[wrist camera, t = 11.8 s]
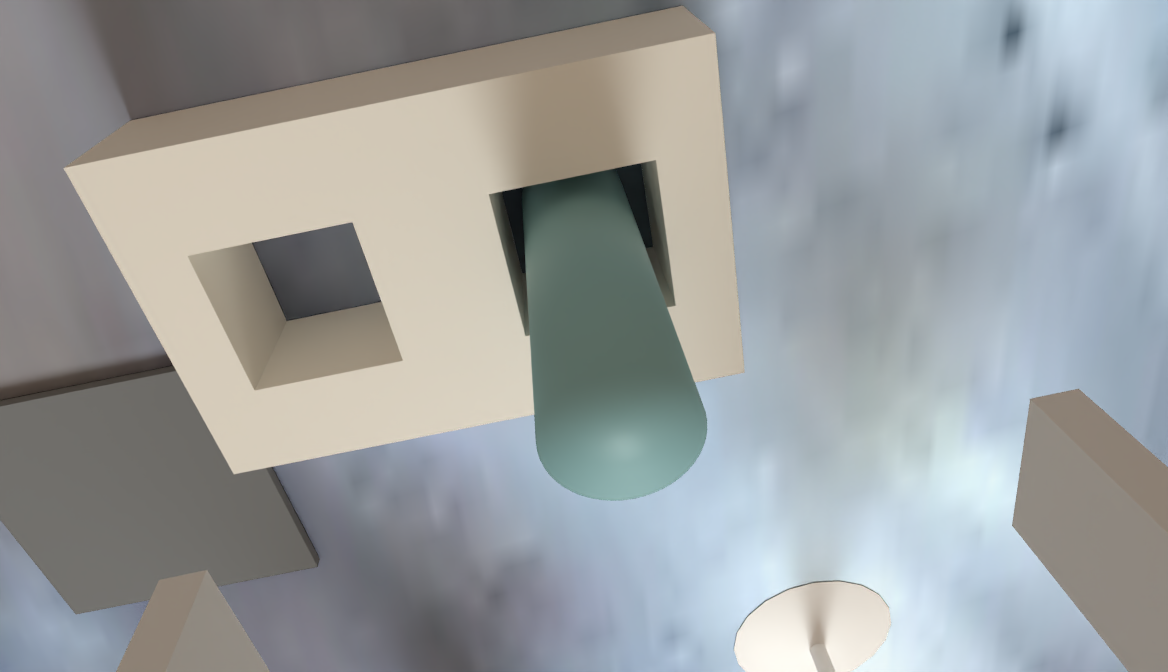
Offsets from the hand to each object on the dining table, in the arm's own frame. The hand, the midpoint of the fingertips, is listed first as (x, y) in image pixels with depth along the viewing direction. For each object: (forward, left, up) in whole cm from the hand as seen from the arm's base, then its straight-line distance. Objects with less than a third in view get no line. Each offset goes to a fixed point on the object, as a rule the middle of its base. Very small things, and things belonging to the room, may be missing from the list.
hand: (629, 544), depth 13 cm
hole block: (-4, 0, -14) cm, 15 cm away
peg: (0, 0, -14) cm, 14 cm away
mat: (-18, -8, -14) cm, 24 cm away
